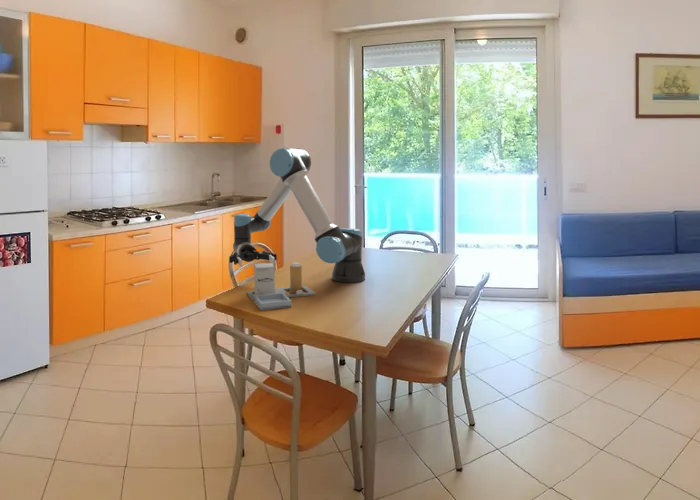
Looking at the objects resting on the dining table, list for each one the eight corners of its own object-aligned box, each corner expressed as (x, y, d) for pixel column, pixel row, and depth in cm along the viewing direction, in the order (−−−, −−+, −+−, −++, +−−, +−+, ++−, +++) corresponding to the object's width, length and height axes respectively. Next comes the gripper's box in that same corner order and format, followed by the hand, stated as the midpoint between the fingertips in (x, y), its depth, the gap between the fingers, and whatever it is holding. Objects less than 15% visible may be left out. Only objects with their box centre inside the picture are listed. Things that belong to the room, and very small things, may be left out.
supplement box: (256, 299, 201) (255, 267, 199) (254, 293, 208) (253, 263, 206) (275, 297, 203) (274, 266, 201) (272, 292, 210) (272, 262, 208)
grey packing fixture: (305, 287, 218) (305, 283, 218) (314, 295, 207) (314, 290, 207) (246, 293, 209) (246, 288, 208) (253, 301, 198) (252, 296, 197)
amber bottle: (299, 290, 213) (299, 261, 211) (303, 293, 209) (302, 264, 207) (289, 291, 212) (288, 262, 209) (292, 294, 207) (291, 265, 205)
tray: (283, 298, 202) (283, 292, 201) (291, 307, 191) (291, 300, 191) (254, 301, 197) (254, 295, 197) (261, 310, 187) (260, 303, 186)
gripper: (274, 258, 237) (286, 269, 218) (218, 261, 227) (227, 273, 208) (274, 242, 235) (286, 251, 216) (218, 245, 226) (226, 255, 207)
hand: (257, 262), depth 212 cm, fingers open, 13 cm apart
